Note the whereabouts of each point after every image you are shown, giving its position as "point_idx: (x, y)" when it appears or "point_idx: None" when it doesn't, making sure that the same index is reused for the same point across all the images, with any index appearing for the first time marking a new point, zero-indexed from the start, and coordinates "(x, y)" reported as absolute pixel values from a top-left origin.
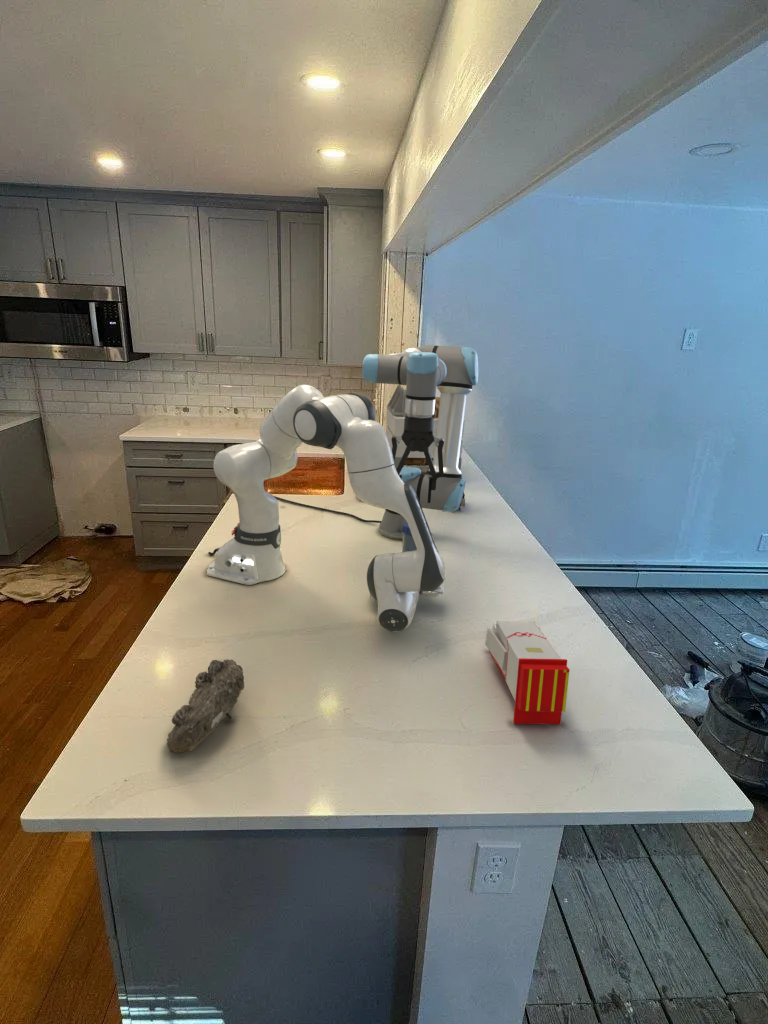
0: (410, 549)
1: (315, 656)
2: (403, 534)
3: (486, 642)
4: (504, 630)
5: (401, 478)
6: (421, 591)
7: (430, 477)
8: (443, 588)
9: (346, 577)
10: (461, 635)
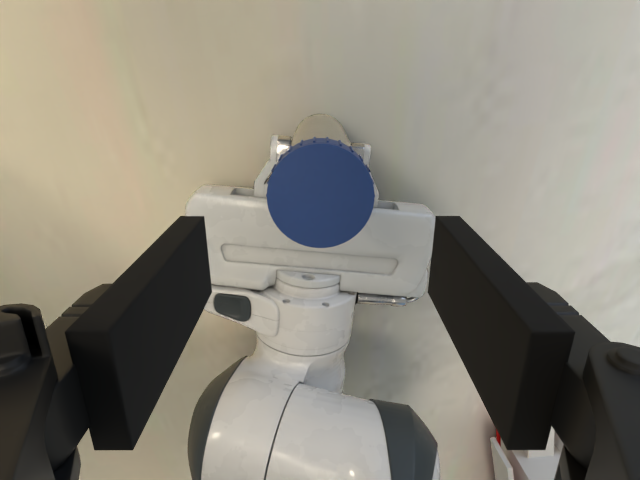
0: None
1: (159, 441)
2: None
3: (493, 446)
4: None
5: (135, 390)
6: (360, 303)
7: (541, 370)
8: (427, 277)
9: (110, 89)
10: (446, 346)
